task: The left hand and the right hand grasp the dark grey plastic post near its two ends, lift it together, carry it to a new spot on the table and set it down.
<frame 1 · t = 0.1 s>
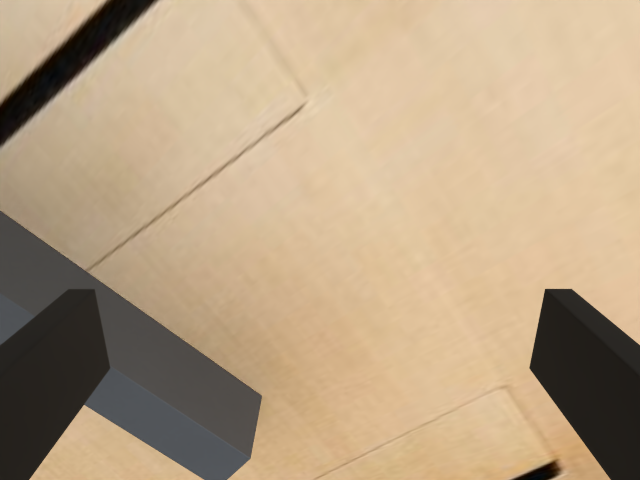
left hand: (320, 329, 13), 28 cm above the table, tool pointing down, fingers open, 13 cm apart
post: (50, 272, 43), on the table
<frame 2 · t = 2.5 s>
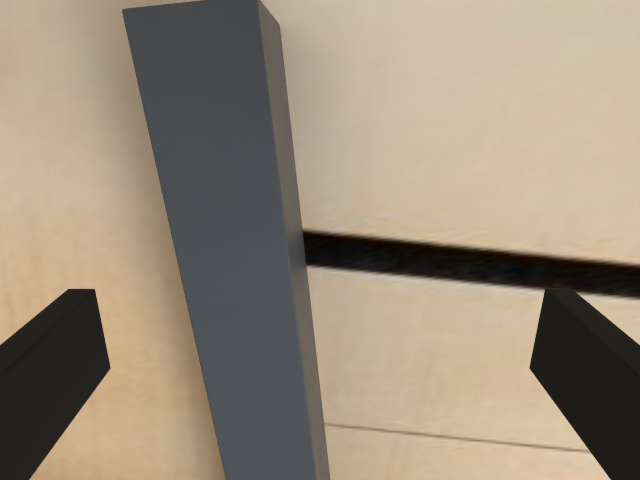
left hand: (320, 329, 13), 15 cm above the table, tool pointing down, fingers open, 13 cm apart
post: (287, 399, 32), on the table
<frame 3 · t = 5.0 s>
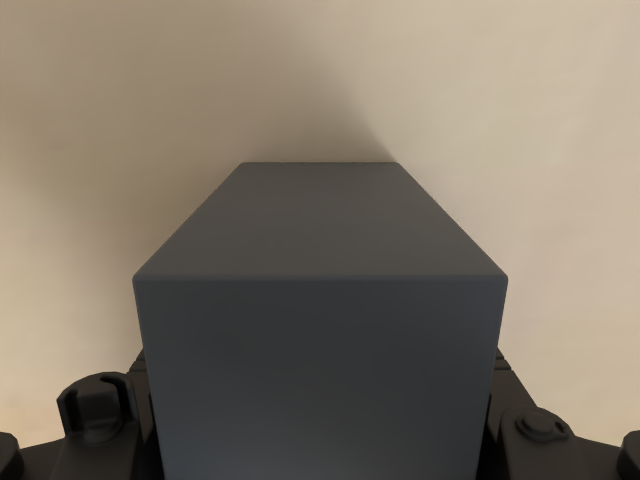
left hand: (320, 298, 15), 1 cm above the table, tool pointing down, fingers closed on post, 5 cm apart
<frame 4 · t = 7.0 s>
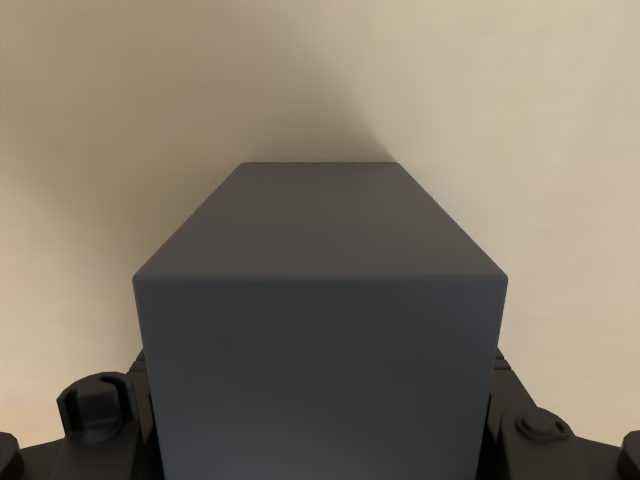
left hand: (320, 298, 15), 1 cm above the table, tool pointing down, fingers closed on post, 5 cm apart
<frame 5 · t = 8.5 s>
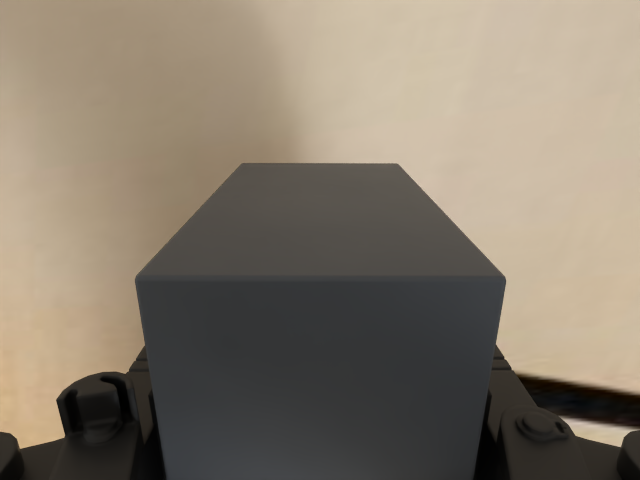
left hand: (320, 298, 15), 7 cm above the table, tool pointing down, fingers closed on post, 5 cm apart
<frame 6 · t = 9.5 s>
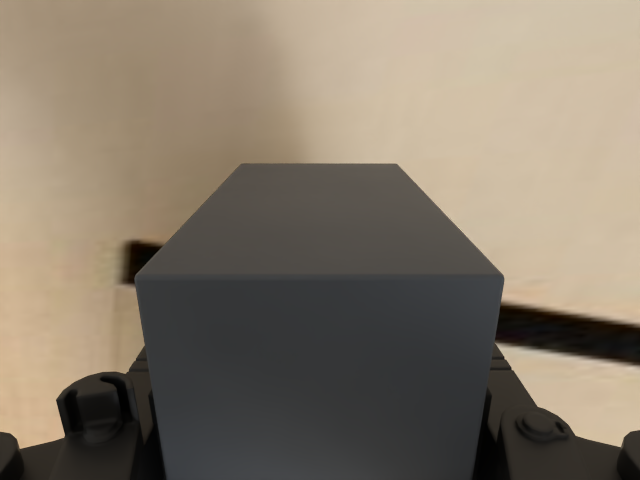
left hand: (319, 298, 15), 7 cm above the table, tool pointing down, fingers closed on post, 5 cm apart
when the left hand's fingers open (2 cm above the table, at t = 12.2 s): post stays where it is, on the table.
when the right hand's fingers open (2 cm above the table, at t = 12.2 s): post stays where it is, on the table.
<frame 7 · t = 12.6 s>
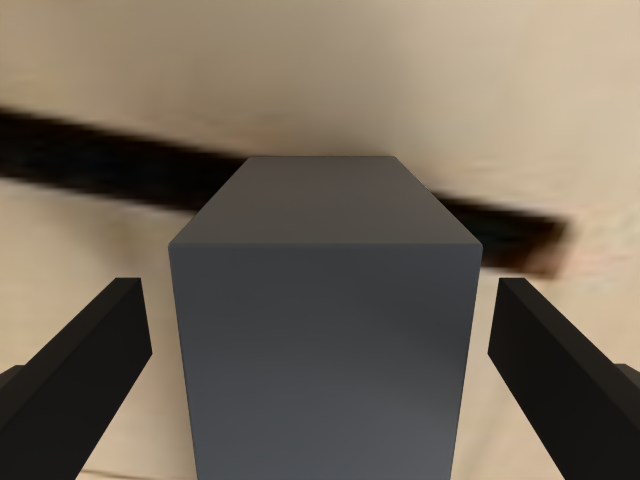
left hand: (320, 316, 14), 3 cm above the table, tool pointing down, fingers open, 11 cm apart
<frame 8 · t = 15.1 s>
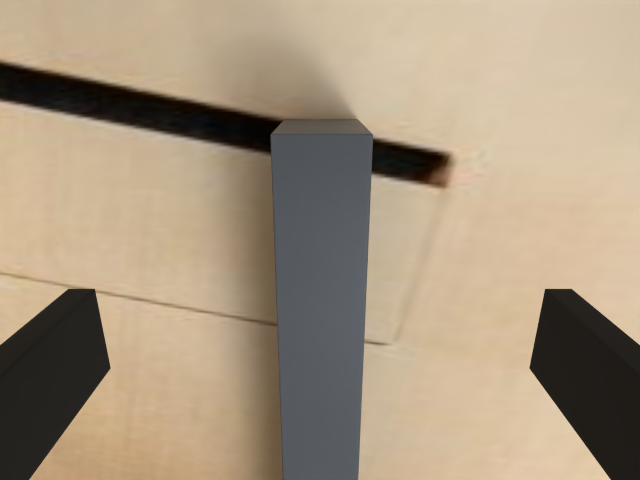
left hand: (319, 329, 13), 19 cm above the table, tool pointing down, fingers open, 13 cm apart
post: (320, 417, 38), on the table
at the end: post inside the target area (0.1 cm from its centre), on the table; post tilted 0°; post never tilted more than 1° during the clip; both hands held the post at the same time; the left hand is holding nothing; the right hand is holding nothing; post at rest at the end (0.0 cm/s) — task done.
